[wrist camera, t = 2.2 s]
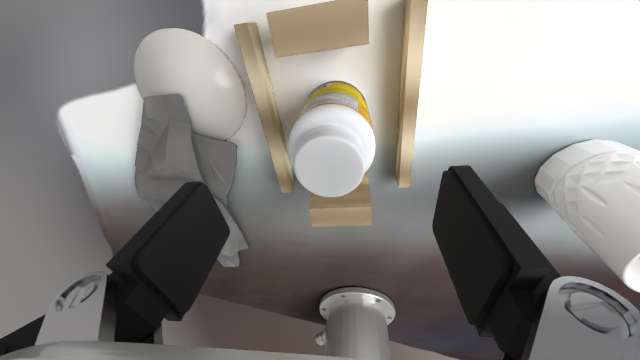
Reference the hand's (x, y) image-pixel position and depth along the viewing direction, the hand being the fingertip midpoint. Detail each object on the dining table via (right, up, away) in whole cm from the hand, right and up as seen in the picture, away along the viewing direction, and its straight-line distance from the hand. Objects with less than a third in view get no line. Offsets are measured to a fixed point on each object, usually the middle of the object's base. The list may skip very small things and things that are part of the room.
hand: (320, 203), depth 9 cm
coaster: (-12, +9, +12) cm, 19 cm away
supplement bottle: (+2, +7, +12) cm, 14 cm away
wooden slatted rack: (+2, +7, +12) cm, 14 cm away
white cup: (+24, +2, +13) cm, 27 cm away
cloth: (-16, -1, +19) cm, 25 cm away
